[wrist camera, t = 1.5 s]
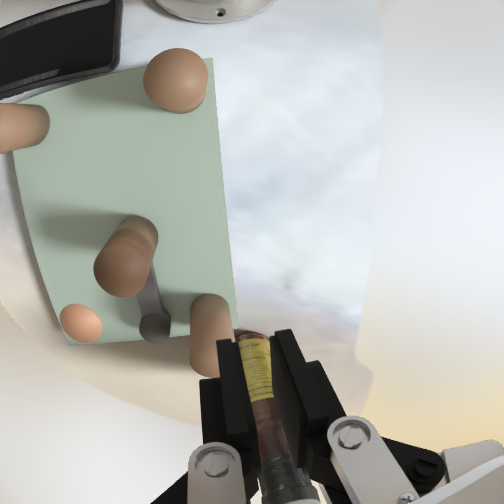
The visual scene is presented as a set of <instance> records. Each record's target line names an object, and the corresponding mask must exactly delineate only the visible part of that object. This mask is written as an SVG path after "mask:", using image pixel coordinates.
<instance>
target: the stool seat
mask: <svg viewBox="0 0 504 504" xmlns="http://www.w3.org/2000/svg"><path fill="white" fill-rule="evenodd" d="M10 151H13V157H14V164H15V170H16V176H17V181H18V187H19V192H20V197H21V201H22V206H23V210H24V215H25V219H26V223H27V227H28V231H29V235H30V238H31V242H32V246H33V249H34V252H35V256H36V259H37V262H38V265H39V269H40V272H41V275H42V278H43V281H44V284H45V286H46V289H47V292H48V295H49V298H50V300H51V303H52V306H53V308H54V311H55V313H56V316H57V318H58V321H59V323H60V326H61V328H62V330H63V333H64V335H65V337H66V340H67V342H68V344H69V345H80V344H97V343H112V342H125V341H137V340H145V339H144V338H143V337H142V336H141V335H140V332H139V325H140V321H141V317H142V314H141V310H140V307H139V303H138V300H137V296H136V295H133V296H131V297H125V298H122V297H116V296H113V295H110V294H109V293H107V292H105V291H104V290H103V289H102V288H101V287H100V286H99V284H98V283H97V281H96V279H95V276H94V271H93V266H94V261H95V259H96V257H97V255H98V254H99V252H100V251H101V250H102V248H103V247H104V245H105V244H106V243H107V241H108V240H109V238H110V237H111V236H112V234H113V233H114V231H115V230H116V229H117V227H118V226H119V225H120V223H121V222H122V221H123V220H125V219H126V218H128V217H131V216H141V217H144V218H146V219H148V220H150V221H151V222H152V223H153V224H154V226H155V227H156V229H157V232H158V244H157V247H156V250H155V254H154V257H153V260H152V261H153V265H154V270H155V275H156V279H157V284H158V288H159V292H160V297H161V301H162V305H163V309H165V310H166V311H168V313H169V314H170V316H171V330H170V336H169V337H177V336H185V335H190V364H191V366H192V368H193V369H194V371H195V372H197V373H198V374H200V375H202V376H205V377H210V378H217V377H220V373H219V365H218V356H217V347H216V340H221V339H229V338H231V339H232V342H235V337H234V332H233V329H239V323H238V314H237V306H236V297H235V288H234V279H233V270H232V261H231V252H230V243H229V233H228V224H227V214H226V204H225V194H224V184H223V174H222V163H221V152H220V141H219V130H218V119H217V107H216V95H215V83H214V70H213V58H206V59H202V58H201V57H200V56H199V55H197V54H196V53H194V52H192V51H190V50H187V49H182V48H174V49H169V50H166V51H163V52H161V53H160V54H158V55H157V56H155V57H154V58H153V59H152V60H151V61H150V63H149V64H148V66H147V67H141V68H136V69H131V70H126V71H121V72H117V73H112V74H108V75H104V76H100V77H96V78H92V79H88V80H84V81H81V82H77V83H74V84H70V85H67V86H64V87H61V88H57V89H54V90H51V91H48V92H45V93H42V94H39V95H37V96H34V97H31V98H28V99H26V100H23V101H20V102H18V103H15V104H13V103H0V154H1V153H5V152H10Z"/></svg>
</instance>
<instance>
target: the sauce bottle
mask: <svg viewBox="0 0 504 504" xmlns="http://www.w3.org/2000/svg"><path fill="white" fill-rule="evenodd" d="M237 341H238V343H239V348H240V353H241V358H242V363H243V367H244V372H245V377H246V382H247V386H248V391H249V395H250V400H251V405H252V409H253V414H254V418H255V423H256V428H257V434H258V442H259V450H260V458H261V467H262V475H263V476H258V477H257V478H258V479H259V483H260V487H261V492H262V504H320V499H319V496H318V492H317V489H316V488H315V487H314V486H313V485H312V483H311V480H310V478H309V475H308V474H307V475H303V472H302V469H301V468H299V469H296V468H295V466H294V462H293V459H292V456H291V453H290V449H289V446H288V443H287V439H286V436H285V433H284V430H283V426H282V423H281V420H280V416H279V413H278V409H277V406H276V403H275V399H274V396H273V391H272V377H271V358H270V340H269V338H268V337H267V336H265V335H261V334H257V333H247V334H243V335H241V336H237V337H236V338H235V342H237Z"/></svg>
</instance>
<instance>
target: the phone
mask: <svg viewBox="0 0 504 504" xmlns="http://www.w3.org/2000/svg"><path fill="white" fill-rule="evenodd" d="M122 14H123V1H122V0H81V1H77V2H73V3H70V4H66V5H63V6H59V7H56V8H53V9H49V10H46V11H43V12H40V13H37V14H34V15H32V16H29V17H26V18H23V19H21V20H18V21H16V22H13V23H11V24H8V25H6V26H4V27H1V28H0V100H2V99H4V98H9V97H12V96H14V95H19V94H22V93H23V92H26V91H29V90H33V89H36V88H40V87H43V86H47V85H51V84H55V83H59V82H63V81H68V80H72V79H77V78H82V77H87V76H92V75H97V74H103V73H108V72H111V71H113V70H114V69H115V68H116V67H117V66H118V64H119V61H120V52H119V51H120V46H121V27H122Z"/></svg>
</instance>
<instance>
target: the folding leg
mask: <svg viewBox="0 0 504 504" xmlns="http://www.w3.org/2000/svg"><path fill="white" fill-rule="evenodd" d="M157 244H158V232H157V229H156V227H155V226H154V224H153V223H152V222H151V221H150V220H148V219H146V218H144V217H141V216H131V217H128V218H126V219H125V220H123V221H122V222H121V223H120V225H119V226H118V227H117V229H116V230H115V231H114V233H113V234H112V236H111V237H110V238H109V240H108V241H107V243H106V244H105V245H104V247H103V248H102V250H101V251H100V252H99V254H98V255H97V257H96V259H95V261H94V266H93V271H94V276H95V279H96V281H97V283H98V284H99V286H100V287H101V288H102V289H103V290H104V291H105V292H107V293H109V294H110V295H113V296H116V297H122V298H125V297H131V296H133V295H136V296H137V300H138V303H139V307H140V310H141V314H142V317H141V321H140V325H139V332H140V335H141V336H142V337H143V338H144V339H145V340H146V341H148V342H151V343H161V342H164V341H166V340H167V339H168V338H169V336H170V330H171V316H170V314H169V313H168V311H166V310H165V309H163V305H162V301H161V297H160V292H159V288H158V284H157V279H156V275H155V270H154V265H153V261H152V260H153V257H154V254H155V250H156V247H157Z"/></svg>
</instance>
